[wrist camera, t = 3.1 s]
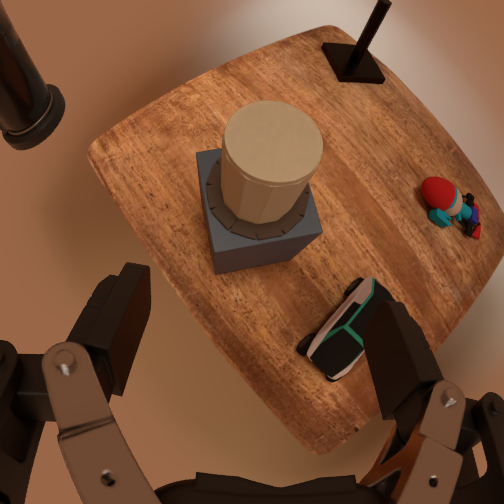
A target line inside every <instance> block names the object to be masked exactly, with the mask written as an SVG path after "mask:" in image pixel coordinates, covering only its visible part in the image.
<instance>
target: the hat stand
mask: <svg viewBox="0 0 504 504" xmlns="http://www.w3.org/2000/svg"><path fill="white" fill-rule="evenodd" d="M391 4H392V3H391V2H390V1H389V0H378V2H377V4H376V6H375V8H374V10H373V12H372V14H371V16H370V18H369V20H368V22H367V24H366V26H365V28H364V30H363V32H362V34H361V36H360V38H359V40H358V42H357V44H356V45H350V44H339V43H323V45H322V50H323V52H324V54H325V55H326V57H327V59H328V61H329V63H330V65H331V67H332V69H333V70H334V72H335V74H336V76H337V78H338V80H339V82H360V83H376V84H383V82H384V81H385V77H384V75H383V74H382V72H381V70H380V69H379V67H378V65H377V64H376V62H375V60H374V59H373V57H372V56H371V54H370V52H369V51H368V49H367V48H368V46H369V45H370V43H371V41H372V39H373V37H374V35H375V34H376V32H377V30H378V28H379V26H380V24H381V23H382V21H383V19H384V17H385V15H386V13H387V11H388V10H389V8H390V6H391Z"/></svg>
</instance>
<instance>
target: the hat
mask: <svg viewBox="0 0 504 504" xmlns="http://www.w3.org/2000/svg"><path fill="white" fill-rule="evenodd" d="M322 152H323V142H322V137H321V134H320V132H319V129H318V128H317V126H316V124H315V123H314V122H313V120H312V119H311V118H310V117H309V116H308V115H307V114H305V113H304V112H303V111H301V110H300V109H298V108H296V107H294V106H292V105H290V104H287V103H284V102H279V101H271V100H265V101H257V102H253V103H250V104H247V105H245V106H243V107H241V108H240V109H239V110H237V111H236V112H235V113H234V114H233V115H232V116H231V118H230V119H229V121H228V122H227V125H226V127H225V132H224V135H223V138H222V157H220V158H219V159H217V160H216V163H214V164H213V167H212V169H211V172H210V174H209V176H208V179H207V181H206V185H207V186H206V192H207V198H208V203H209V208H210V210H211V209H213V210H212V211H211V213H212V214H213V215H214V216H215V217H216V218H217V219H218V221H219V222H220V223H221V224H222V225H223V226H224V227H225V228H226V229H227V230H229V229H230V228H231V227H232V228H231V231H230V232H231V233H234V234H237V235H240V236H243V237H246V238H249V239H252V240H255V238H256V235H257V240H264V239H269V238H274V237H280V236H282V235H283V233H284V234H286V233H287V232H289V231H290V230H291V229H292V228H293V227H294V226H295V225H296V224H297V223H299V222H300V221H301V220H302V219H303V218H302V217H304V215H305V212H306V208H307V205H308V201H309V197H310V194H309V192H310V190H309V187H308V182H309V180H310V179H311V177H312V176H313V174H314V172H315V171H316V169H317V167H318V163H319V161H320V159H321V156H322ZM301 216H302V217H301ZM282 232H283V233H282Z"/></svg>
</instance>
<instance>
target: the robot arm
mask: <svg viewBox="0 0 504 504" xmlns="http://www.w3.org/2000/svg"><path fill="white" fill-rule="evenodd" d="M53 103H54V97H53V94H52V92H51V91H50V89H49V88H48V87H47V85H46V84H45V82H44V80H43V79H42V77H41V75H40V73H39V72H38V70H37V68H36V67H35V65H34V63H33V61H32V59H31V58H30V56H29V54H28V52H27V51H26V49H25V47H24V45H23V43H22V41H21V40H20V38H19V36H18V34H17V32H16V30H15V28H14V26H13V25H12V23H11V21H10V19H9V17H8V15H7V13H6V11H5V9H4V7H3V5H2V2H1V0H0V130H1V131H2V132H3V133H4V134H5V135H6V136H7V135H9V134H11V135H12V136H16V137H18V136H23V135H26V134H28V133H30V132H32V131H33V130H34V129H36V128H37V127H38V126H39V125H40V124H41V123H42V122H43V121H44V120H45V119H46V117H47V116H48V114H49V113H50V111H51V109H52V106H53ZM150 310H151V283H150V267H149V266H146V265H141V264H136V263H129V262H127V263H126V264H125V266H124V267H123V269H122V271H121V272H120V274H119V276H115V275H109V276H108V277H106V278H105V279H104V280H102V281H101V282H100V283H99V284H98V285H97V287H96V289H95V290H94V292H93V294H92V297H90V299H89V300H88V302H87V306H85V308H84V309H83V311H82V313H81V314H80V316H79V318H78V320H77V321H76V323H75V325H74V327H73V329H72V331H71V332H70V334H69V336H68V338H67V340H66V341H65V342H61V343H58V344H56V345H54V346H52V347H51V348H49V349H48V350H47V352H46V353H45V354H18V353H17V351H16V349H15V347H14V346H13V345H12V344H11V343H10V342H8V341H4V340H0V504H24V503H25V498H26V493H27V488H28V484H29V479H30V475H31V470H32V467H33V463H34V459H35V455H36V452H37V448H38V444H39V441H40V438H41V434H42V431H43V428H44V425H45V422H46V421H53V422H54V421H55V422H57V425H58V428H59V434H58V436H57V438H58V443H59V447H60V449H61V452H62V455H63V458H64V460H65V463H66V465H67V468H68V470H69V473H70V475H71V478H72V480H73V482H74V485H75V487H76V489H77V491H78V494H79V496H80V498H81V500H82V502H83V504H504V400H503V399H502V398H501V397H500V396H499V395H498V394H496V393H493V392H488V393H486V394H485V395H484V396H483V397H482V398H481V399H480V400H479V401H477V400H473V399H469V398H465V397H464V394H463V392H462V390H461V389H460V388H459V387H458V386H457V385H456V384H454V383H452V382H450V381H447V380H444V378H443V376H442V373H441V371H440V369H439V366H438V364H437V362H436V359H435V357H434V355H433V353H432V350H431V349H429V348H430V346H429V344H428V342H427V340H425V339H426V337H425V335H424V333H423V331H422V329H421V327H420V326H419V325H418V324H417V322H416V321H415V320H414V319H413V318H412V317H410V316H409V314H408V312H407V310H406V307H405V305H404V304H403V303H402V302H395V301H386V300H383V301H381V302H380V304H379V305H378V307H377V309H376V311H375V313H374V315H373V316H372V318H371V320H370V322H369V324H368V326H367V327H366V329H365V331H364V335H363V347H364V350H365V354H366V357H367V361H368V364H369V368H370V372H371V375H372V379H373V383H374V386H375V390H376V394H377V398H378V402H379V406H380V410H381V413H382V418H383V420H393V419H395V420H396V425H395V426H394V427H393V428H392V430H391V432H390V434H389V436H388V438H387V440H386V442H385V444H384V447H383V448H382V450H381V452H380V454H379V456H378V458H377V460H376V462H375V464H374V465H373V467H372V469H371V470H370V471H369V472H368V474H366V475H365V477H364V478H363V479H362V480H361V481H360V483H359V484H358V483H356V479H355V475H349V476H337V477H323V478H317V479H314V480H310V481H307V482H303V483H299V484H295V485H291V486H287V487H273V486H270V485H266V484H262V483H258V482H255V481H251V480H248V479H245V478H241V477H238V476H226V475H217V474H208V473H200V472H196V479H190V480H182V481H178V482H173V483H170V484H167V485H164V486H162V487H160V488H158V489H156V490H154V491H153V489H152V488H151V486H150V484H149V482H148V481H147V479H146V477H145V476H144V474H143V472H142V471H141V469H140V467H139V466H138V463H137V462H136V460H135V458H134V456H133V454H132V453H131V450H130V448H129V447H128V445H127V443H126V441H125V439H124V437H123V435H122V433H121V430H120V428H119V426H118V424H117V422H116V420H115V418H114V416H113V414H112V412H111V410H110V407H109V405H108V404H109V401H110V398H111V395H112V394H114V395H118V396H122V395H123V392H124V389H125V386H126V383H127V379H128V376H129V373H130V370H131V367H132V364H133V361H134V358H135V355H136V352H137V350H138V347H139V344H140V340H141V338H142V335H143V332H144V330H145V327H146V324H147V321H148V318H149V315H150ZM480 441H481V442H482V445H483V449H484V453H485V456H486V460H487V471H486V473H485V474H484V475H483V476H482V477H481V478H479V475H478V470H477V466H476V462H475V458H474V454H473V450H472V447H474V446H475V445H476V444H478V443H479V442H480Z"/></svg>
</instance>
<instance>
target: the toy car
mask: <svg viewBox="0 0 504 504" xmlns="http://www.w3.org/2000/svg"><path fill="white" fill-rule="evenodd" d="M345 294H346V295H347V297H348V298H347V299H346V301H345V302H344V303H343V304H342V305H341V306H340V307H339V308H338V309H337V310H336V312H335V313H334V314H333V315H332V316H331V317H330V319H329V320H328V321H327V322H326V323H325V325H324V326H323V327H322V328H321V329H320V331H319V332H318V333H317V335H315V334H314V333H311V334H309V335H308V336H306V337H305V338H304V339H303V340H302V341H301V342H300V344H299V345H298V347H297V349H296V350H297V352H298V353H299V354H300V355H302V356H305V355H308V359H309V360H310V361H312V362H313V363H314V364H315V365H316V366H317V367H318V368H319V369H320V370H321V371H322V372H324V373H325V377H326V379H327V380H328V381H330V382H335V381H337V380H339V379H340V378H341V377H342V376H343V375H345V374H346V373H347V372H348V371H349V370H350V369H351V368H352V366H353V365H354V364H355V362H356V361H357V360H358V359H359V357H360V356H361V355H362V354H363V352H364V351H365V350H364V347H363V335H364V331H365V329H366V327H367V326H368V324H369V322H370V320H371V318H372V316H373V315H374V313H375V311H376V309H377V307H378V305H379V304H380V302H381V301H383V300H386V301H395V302H397V301H398V300H395V299H394V298H393V297H392V295H391V293H390V292H389V291H388V290H387V289H386V288H385V287H384V286H383V285H382V284H380V283H379V282H378V281H377V280H376V277H371V276H368V277H367V278H365V279H363V278H361V277H359V278H358V279H356V280H355V281H354V282H353V283H352V284H351V285H350V286H349V287H348V289H347V290H346V293H345ZM349 306H350V307H349Z"/></svg>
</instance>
